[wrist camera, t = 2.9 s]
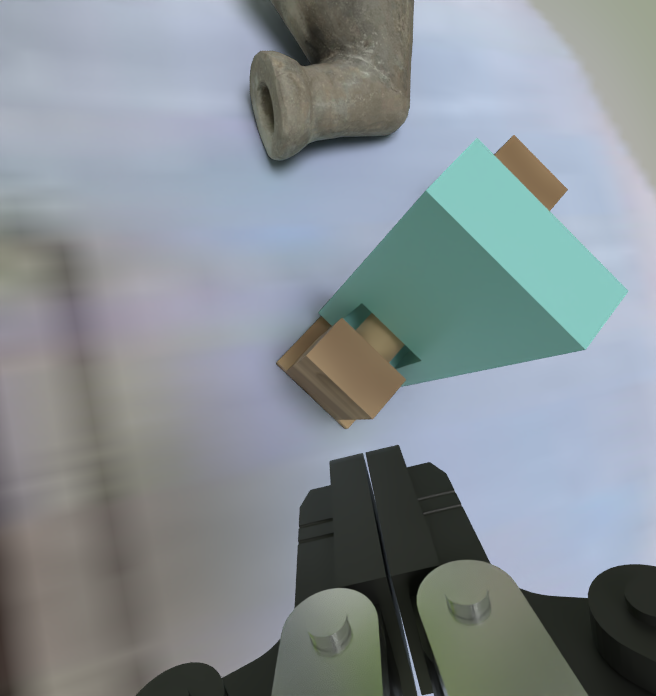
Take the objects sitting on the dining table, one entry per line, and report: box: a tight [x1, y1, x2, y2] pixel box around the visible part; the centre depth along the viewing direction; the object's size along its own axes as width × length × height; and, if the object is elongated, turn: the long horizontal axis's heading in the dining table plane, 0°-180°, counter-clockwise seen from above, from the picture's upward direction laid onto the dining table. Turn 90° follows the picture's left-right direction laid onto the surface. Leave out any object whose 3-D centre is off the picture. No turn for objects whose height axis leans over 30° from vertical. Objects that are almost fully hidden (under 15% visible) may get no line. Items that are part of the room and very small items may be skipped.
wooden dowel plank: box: [276, 135, 568, 429], centre depth 29 cm, size 18×6×8 cm, turn 137°
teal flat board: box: [318, 138, 628, 387], centre depth 21 cm, size 2×6×16 cm, turn 47°
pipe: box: [250, 0, 414, 160], centre depth 31 cm, size 16×9×15 cm
